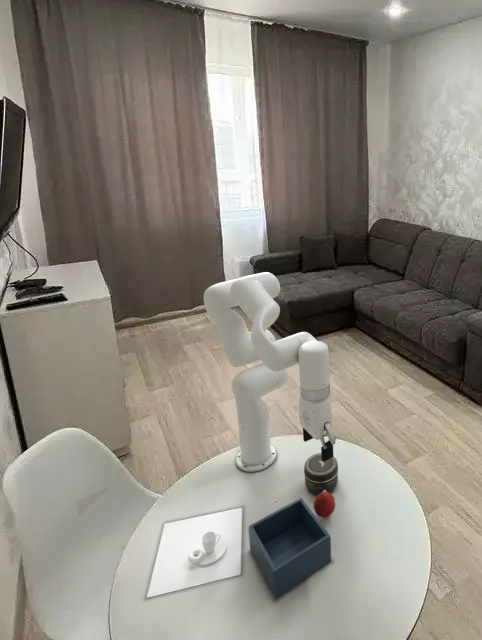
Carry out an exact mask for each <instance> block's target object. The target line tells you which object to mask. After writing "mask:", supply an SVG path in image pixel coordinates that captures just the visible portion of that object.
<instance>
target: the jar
mask: <svg viewBox="0 0 482 640" xmlns="http://www.w3.org/2000/svg"><path fill="white" fill-rule="evenodd" d="M303 473H304V485H305V488H306V490H307V491H308V493H309V494H311V496H315V497H317V496H318V495H319V494H320V493H322V492H323V491H324V490H326V491H327V492H328V493H330V494H332V493H333V492H334V491H335V489H336V488H337V485H338V482H339V481H338V480H339V476H338V475H339V463H338V460H337V458H336V457H335V456H334V455H333V457H332V458H330V459H328V460H326V461H324V462H323V461H322V456H321V452H318V453H315V454H312V455H310V456H309V457H308V458H307V459H306V460H305V462H304V466H303Z"/></svg>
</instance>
